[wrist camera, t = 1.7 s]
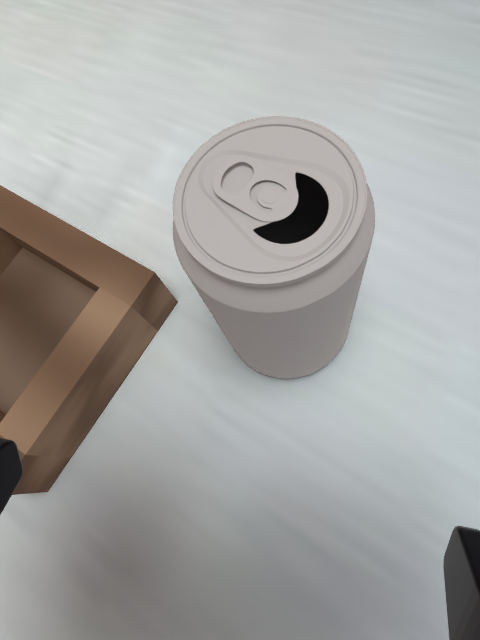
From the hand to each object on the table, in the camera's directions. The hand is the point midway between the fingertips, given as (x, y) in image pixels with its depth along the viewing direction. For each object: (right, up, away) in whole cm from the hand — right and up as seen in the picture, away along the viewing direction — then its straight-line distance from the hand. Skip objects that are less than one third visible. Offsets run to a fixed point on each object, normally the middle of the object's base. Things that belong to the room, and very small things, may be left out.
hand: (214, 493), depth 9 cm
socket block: (-11, +2, +17) cm, 20 cm away
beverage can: (+3, +3, +15) cm, 16 cm away
